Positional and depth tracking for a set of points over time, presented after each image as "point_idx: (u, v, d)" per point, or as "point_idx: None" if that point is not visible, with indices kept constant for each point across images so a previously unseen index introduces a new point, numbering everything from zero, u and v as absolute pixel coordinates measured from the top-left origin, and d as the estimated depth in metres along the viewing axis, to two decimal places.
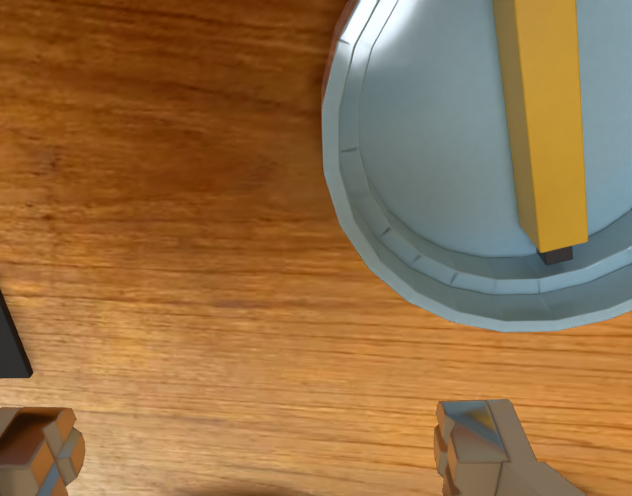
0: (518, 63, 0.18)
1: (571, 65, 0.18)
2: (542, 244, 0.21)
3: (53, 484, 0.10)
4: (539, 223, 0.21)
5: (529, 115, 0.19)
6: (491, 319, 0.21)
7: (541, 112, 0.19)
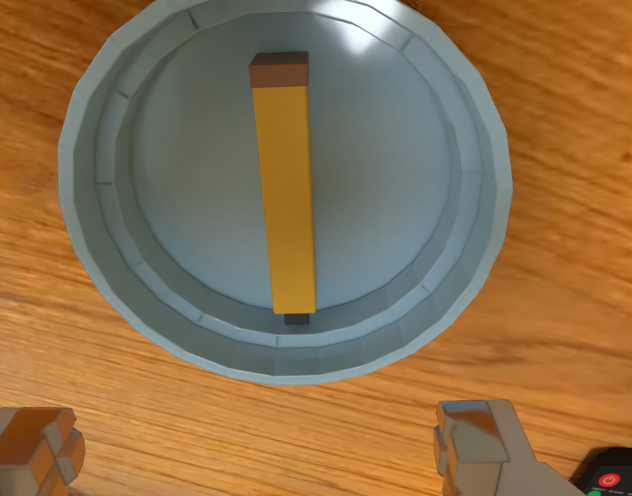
0: (258, 146, 0.20)
1: (302, 161, 0.20)
2: (275, 306, 0.24)
3: (53, 484, 0.10)
4: (272, 288, 0.23)
5: (265, 194, 0.21)
6: (215, 363, 0.23)
7: (275, 194, 0.21)
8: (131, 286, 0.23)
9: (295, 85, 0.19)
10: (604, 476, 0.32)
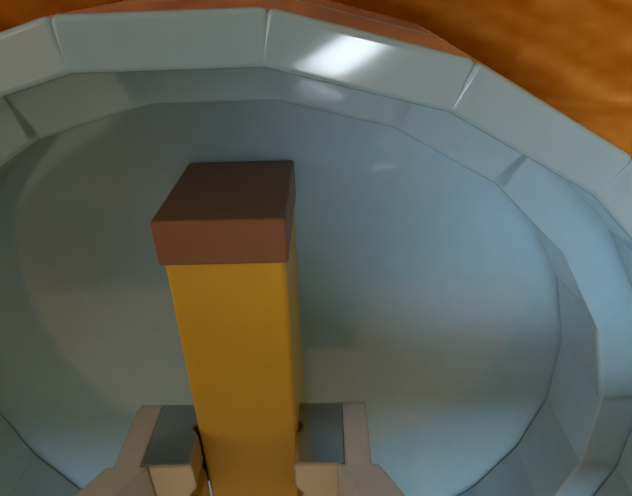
0: (188, 362, 0.10)
1: (279, 392, 0.10)
2: None
3: (202, 482, 0.10)
4: None
5: (206, 443, 0.10)
6: None
7: (227, 443, 0.10)
8: None
9: (260, 261, 0.08)
10: None
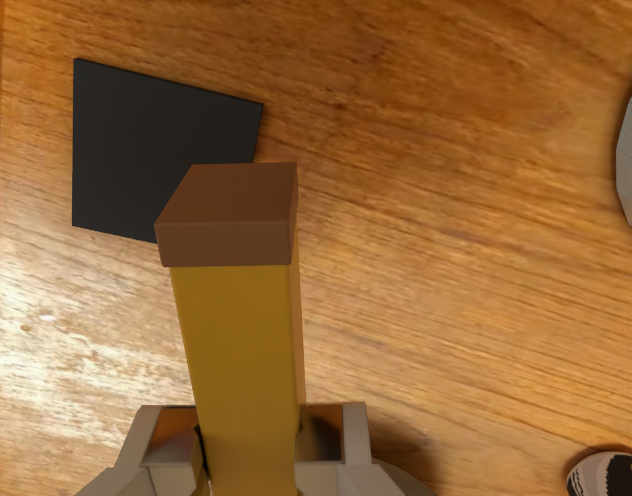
0: (190, 363, 0.10)
1: (281, 393, 0.10)
2: None
3: (202, 482, 0.10)
4: None
5: (208, 444, 0.10)
6: None
7: (229, 445, 0.10)
8: None
9: (263, 263, 0.08)
10: None
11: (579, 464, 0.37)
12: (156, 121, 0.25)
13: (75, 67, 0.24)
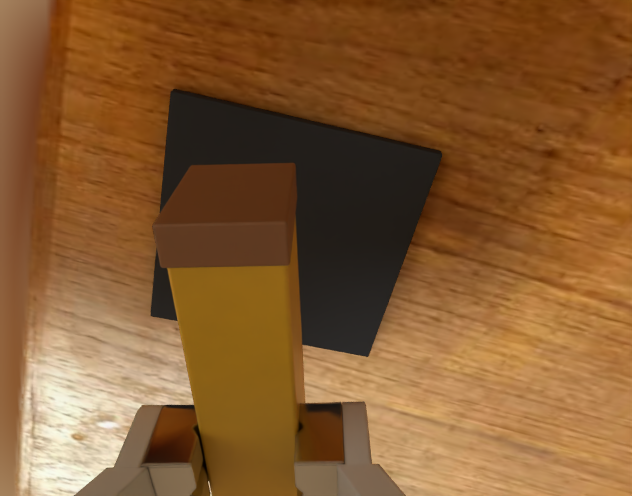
0: (189, 364, 0.10)
1: (279, 394, 0.10)
2: None
3: (202, 482, 0.10)
4: None
5: (206, 445, 0.10)
6: None
7: (228, 445, 0.10)
8: None
9: (262, 264, 0.08)
10: None
11: None
12: None
13: (172, 103, 0.16)
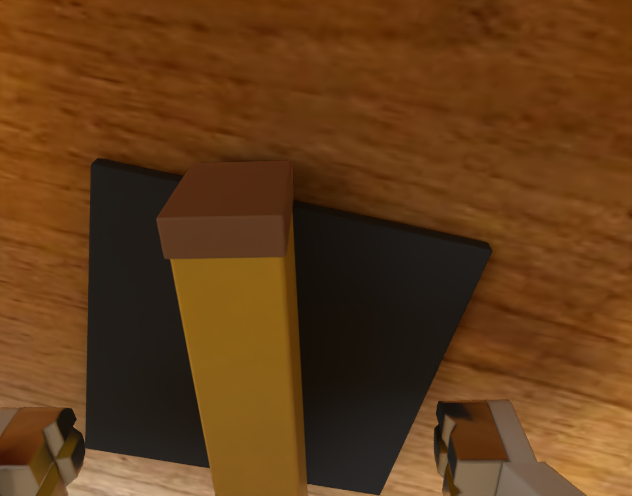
0: (190, 352, 0.10)
1: (277, 381, 0.10)
2: None
3: (53, 484, 0.10)
4: None
5: (207, 430, 0.11)
6: None
7: (227, 430, 0.11)
8: None
9: (260, 255, 0.09)
10: None
11: None
12: None
13: (94, 180, 0.11)
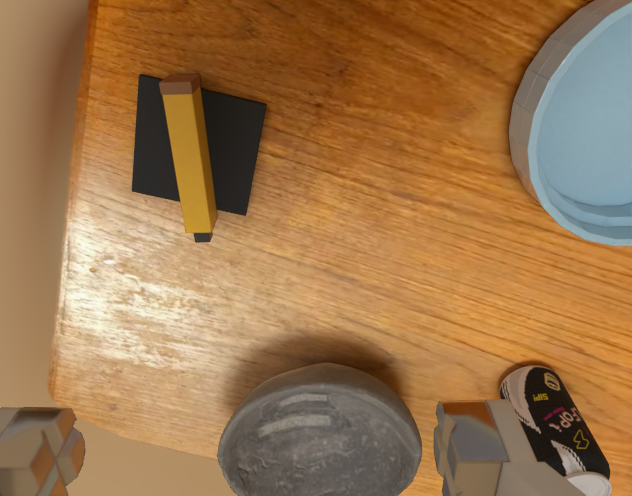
0: (168, 128, 0.35)
1: (193, 136, 0.35)
2: (186, 228, 0.38)
3: (53, 484, 0.10)
4: (183, 215, 0.38)
5: (174, 156, 0.36)
6: (582, 229, 0.36)
7: (180, 156, 0.36)
8: None
9: (185, 93, 0.34)
10: None
11: (507, 376, 0.48)
12: None
13: (140, 80, 0.36)
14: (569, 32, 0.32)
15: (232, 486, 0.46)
